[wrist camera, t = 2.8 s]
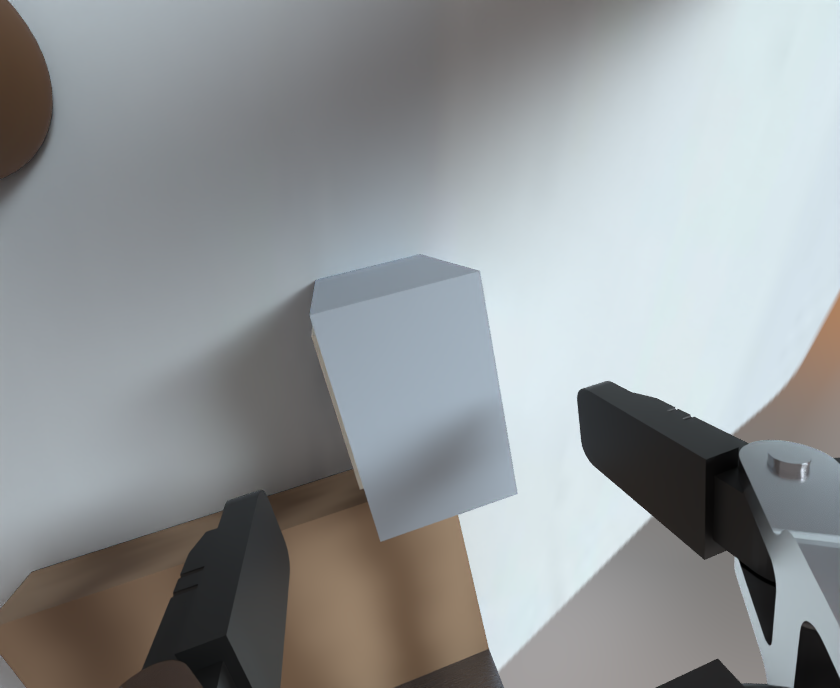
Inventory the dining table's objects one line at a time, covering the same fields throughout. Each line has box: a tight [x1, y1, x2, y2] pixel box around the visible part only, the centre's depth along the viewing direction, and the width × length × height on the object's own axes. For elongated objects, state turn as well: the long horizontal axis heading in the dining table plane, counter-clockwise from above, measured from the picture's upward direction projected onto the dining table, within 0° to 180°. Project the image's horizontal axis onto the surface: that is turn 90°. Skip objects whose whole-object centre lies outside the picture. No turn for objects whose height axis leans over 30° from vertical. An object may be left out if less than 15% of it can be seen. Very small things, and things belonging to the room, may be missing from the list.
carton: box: [310, 254, 518, 542], centre depth 17 cm, size 6×8×8 cm
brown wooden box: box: [0, 469, 504, 688], centre depth 20 cm, size 20×14×6 cm
